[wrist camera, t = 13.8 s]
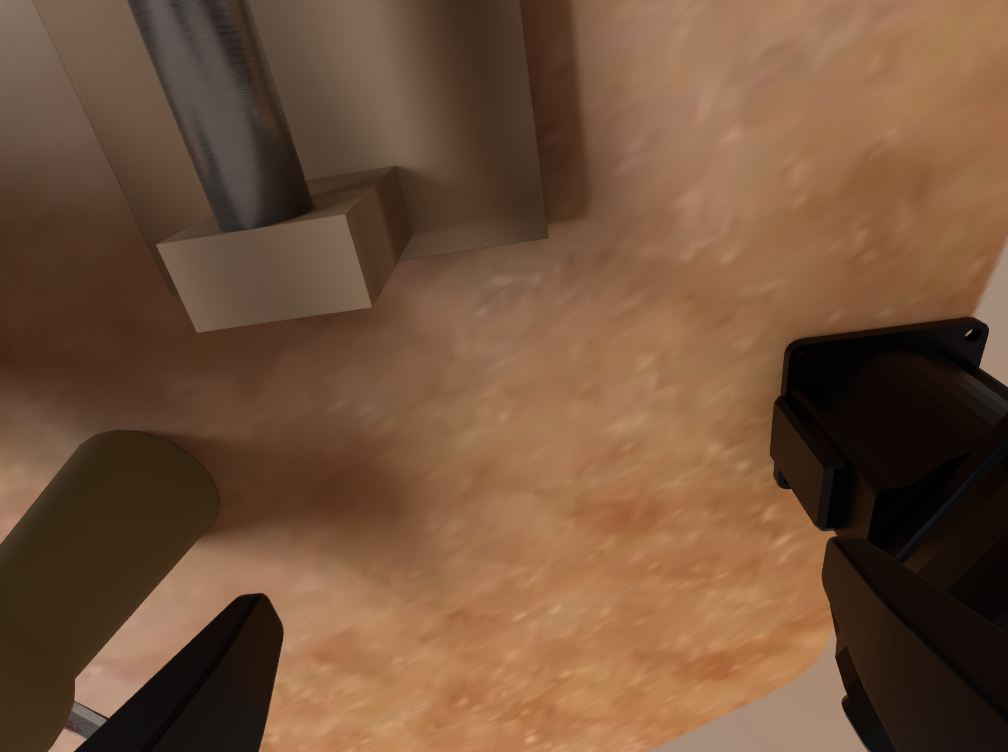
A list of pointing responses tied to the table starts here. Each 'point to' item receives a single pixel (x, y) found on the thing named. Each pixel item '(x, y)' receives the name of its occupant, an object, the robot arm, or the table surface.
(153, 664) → the table surface
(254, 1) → the jig
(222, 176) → the bolt
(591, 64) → the table surface
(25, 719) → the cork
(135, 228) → the table surface
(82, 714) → the knife
